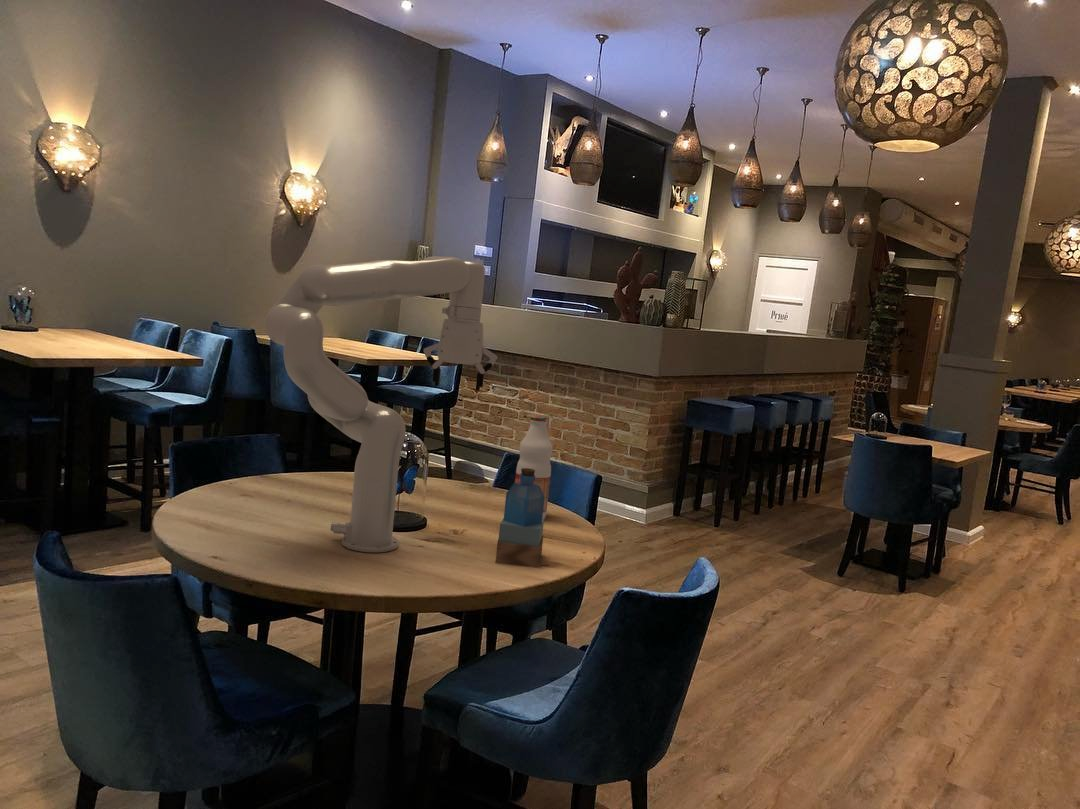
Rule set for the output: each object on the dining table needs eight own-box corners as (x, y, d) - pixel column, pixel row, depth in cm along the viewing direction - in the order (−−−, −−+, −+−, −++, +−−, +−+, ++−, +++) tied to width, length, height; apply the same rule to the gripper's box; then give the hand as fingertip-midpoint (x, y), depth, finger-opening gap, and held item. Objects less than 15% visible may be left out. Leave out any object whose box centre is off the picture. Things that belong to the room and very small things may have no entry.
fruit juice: (525, 523, 227) (537, 419, 223) (504, 514, 234) (515, 413, 231) (552, 520, 233) (564, 419, 229) (531, 511, 240) (541, 413, 237)
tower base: (495, 564, 190) (497, 542, 189) (498, 551, 199) (500, 530, 199) (539, 569, 189) (542, 547, 189) (540, 556, 199) (543, 535, 199)
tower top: (498, 541, 190) (500, 523, 190) (503, 531, 199) (505, 514, 198) (538, 546, 189) (540, 529, 189) (542, 536, 198) (544, 519, 198)
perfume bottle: (521, 516, 198) (526, 465, 197) (541, 522, 194) (547, 471, 193) (503, 520, 193) (508, 468, 192) (524, 526, 189) (530, 473, 188)
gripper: (425, 311, 195) (418, 385, 196) (500, 319, 195) (492, 393, 197) (429, 310, 202) (423, 382, 204) (502, 318, 202) (494, 390, 204)
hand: (457, 387), depth 200 cm, fingers open, 9 cm apart
